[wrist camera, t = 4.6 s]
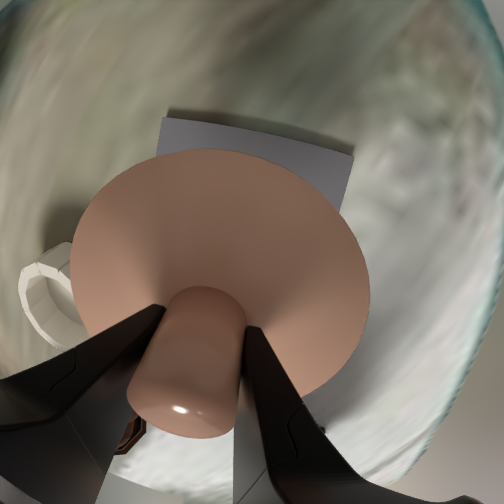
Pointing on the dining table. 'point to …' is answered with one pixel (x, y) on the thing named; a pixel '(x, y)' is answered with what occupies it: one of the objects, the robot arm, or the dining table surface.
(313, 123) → the dining table surface
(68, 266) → the bowl
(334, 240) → the lid
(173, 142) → the mat
